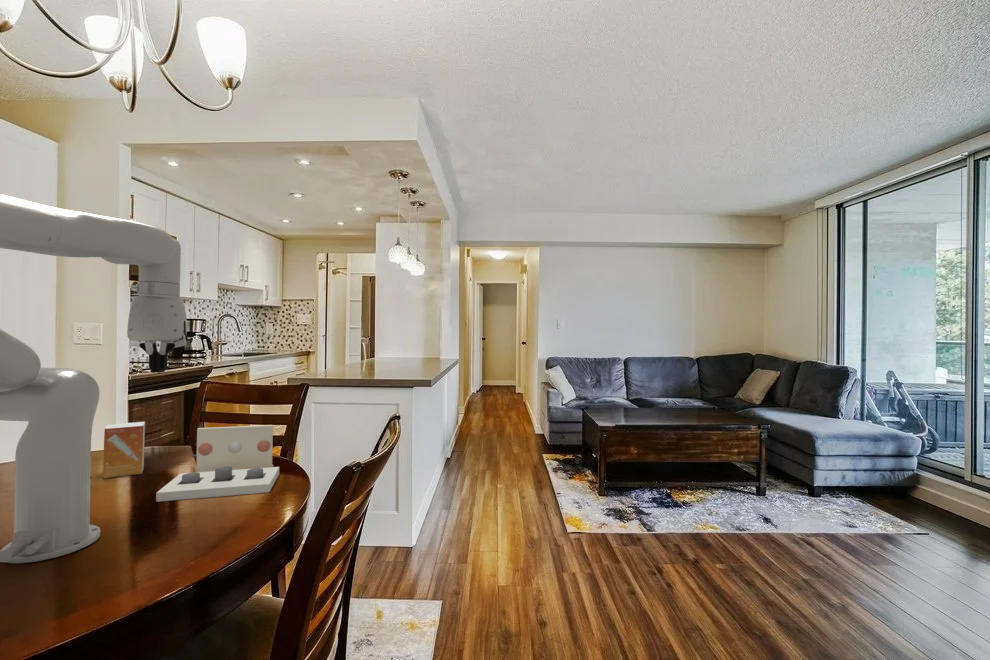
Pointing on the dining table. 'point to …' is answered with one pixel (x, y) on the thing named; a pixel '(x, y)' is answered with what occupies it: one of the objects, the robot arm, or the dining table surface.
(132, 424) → the small box
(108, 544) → the dining table surface
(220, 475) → the button
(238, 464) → the pattern card
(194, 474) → the button
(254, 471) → the button
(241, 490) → the button board
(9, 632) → the dining table surface
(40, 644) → the dining table surface
